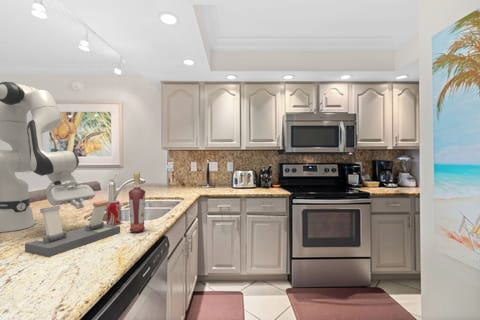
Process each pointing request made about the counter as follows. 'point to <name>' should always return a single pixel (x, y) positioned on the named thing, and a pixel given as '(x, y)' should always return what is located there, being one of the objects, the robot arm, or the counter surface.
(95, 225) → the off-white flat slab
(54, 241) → the switch board
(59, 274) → the counter surface
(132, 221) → the liquor
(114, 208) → the soda can
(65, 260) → the counter surface
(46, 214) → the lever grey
